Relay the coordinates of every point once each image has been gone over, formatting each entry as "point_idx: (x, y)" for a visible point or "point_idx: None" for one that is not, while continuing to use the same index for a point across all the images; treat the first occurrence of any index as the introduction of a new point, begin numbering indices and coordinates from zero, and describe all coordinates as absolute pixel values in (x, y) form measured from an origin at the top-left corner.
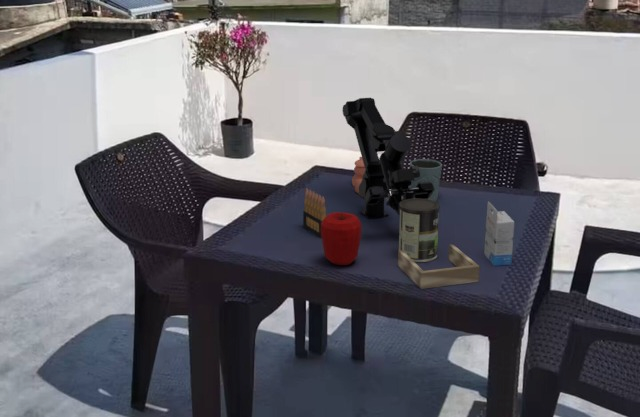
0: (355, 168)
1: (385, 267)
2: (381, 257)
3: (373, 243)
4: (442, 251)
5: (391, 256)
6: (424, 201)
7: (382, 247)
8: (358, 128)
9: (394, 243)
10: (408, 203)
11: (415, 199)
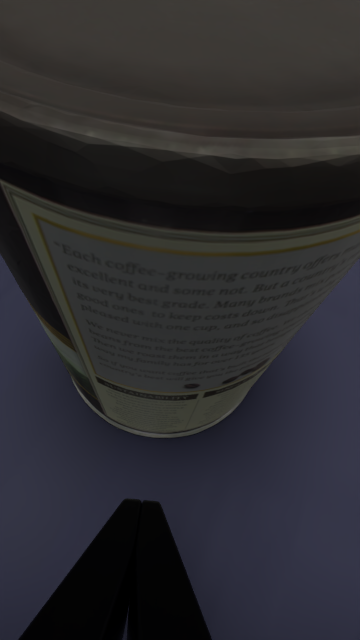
0: None
1: (346, 286)
2: (344, 381)
3: (355, 636)
4: (27, 333)
5: (293, 374)
6: (25, 9)
7: (309, 522)
8: None
9: (210, 566)
10: (347, 44)
11: (119, 93)
